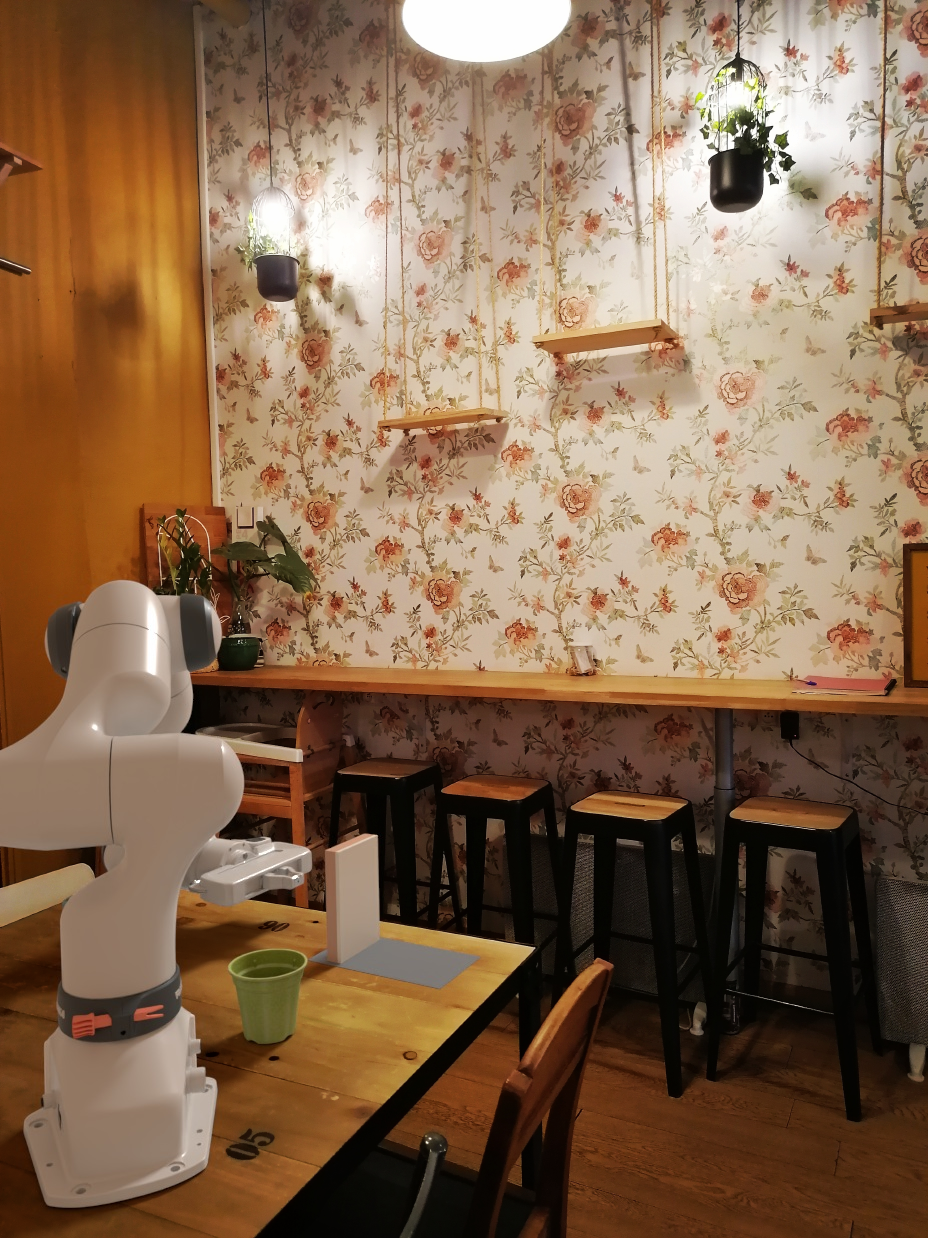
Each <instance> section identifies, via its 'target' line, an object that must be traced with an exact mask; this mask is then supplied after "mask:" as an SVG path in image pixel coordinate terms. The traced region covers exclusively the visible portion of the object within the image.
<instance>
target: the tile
mask: <svg viewBox="0 0 928 1238" xmlns="http://www.w3.org/2000/svg"><path fill="white" fill-rule="evenodd" d="M378 837H379V835H377V834H370V833H362V834H360V835H358V836H356V837H353V838H351V839H349V840H346V841H343V842H341V843H339V844H336V845H334V846H332V847H331V848H330V847H329V848H327V849H325V850H324V856H325V857H324V862H325V863H324V869H325V871H324V872H325V909H326V911H325V912H326V913H325V914H326V915H325V916H326V917H325V918H326V919H325V920H326V949H327V961H331V962H335V963H340V964H341V963H343V962H345V961H346V960H348V959H349V958H351V957H353V956H354V955H356V954H358V953H359V952H361V951H362V950H364V949H366V948H367V947H369V946H370V945H372V944H374V943H375V942H377V941H379V940H380V937H381V936H380V935H381V934H380V930H381V929H380V888H379V880H380V879H379V878H380V877H379V838H378Z"/></svg>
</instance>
